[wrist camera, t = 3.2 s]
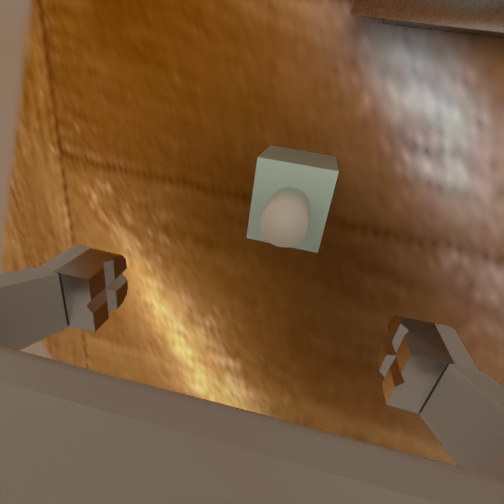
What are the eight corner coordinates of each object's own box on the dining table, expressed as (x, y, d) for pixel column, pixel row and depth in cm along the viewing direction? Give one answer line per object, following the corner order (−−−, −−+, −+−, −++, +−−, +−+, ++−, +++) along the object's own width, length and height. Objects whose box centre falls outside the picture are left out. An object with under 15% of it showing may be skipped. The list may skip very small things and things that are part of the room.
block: (318, 224, 24) (316, 277, 17) (260, 212, 24) (234, 259, 17) (335, 156, 22) (341, 185, 15) (270, 145, 22) (245, 167, 15)
